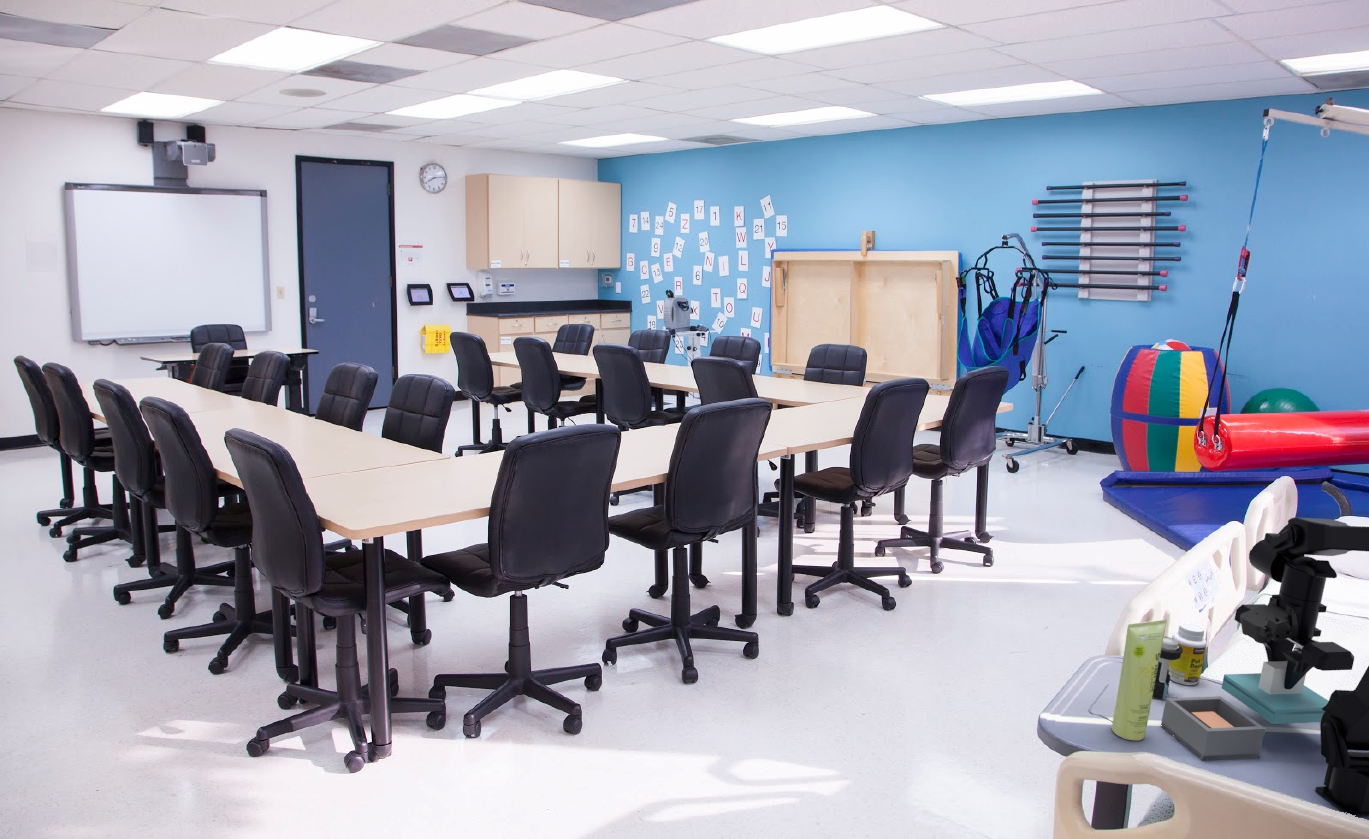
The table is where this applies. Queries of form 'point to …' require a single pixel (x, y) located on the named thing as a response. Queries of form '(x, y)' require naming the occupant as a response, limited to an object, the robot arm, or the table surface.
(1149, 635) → the tube
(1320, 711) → the lid
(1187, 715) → the storage box
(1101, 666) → the table surface
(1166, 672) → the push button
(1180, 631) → the supplement bottle
